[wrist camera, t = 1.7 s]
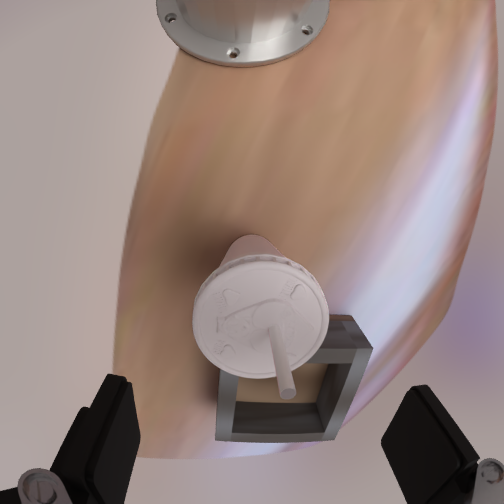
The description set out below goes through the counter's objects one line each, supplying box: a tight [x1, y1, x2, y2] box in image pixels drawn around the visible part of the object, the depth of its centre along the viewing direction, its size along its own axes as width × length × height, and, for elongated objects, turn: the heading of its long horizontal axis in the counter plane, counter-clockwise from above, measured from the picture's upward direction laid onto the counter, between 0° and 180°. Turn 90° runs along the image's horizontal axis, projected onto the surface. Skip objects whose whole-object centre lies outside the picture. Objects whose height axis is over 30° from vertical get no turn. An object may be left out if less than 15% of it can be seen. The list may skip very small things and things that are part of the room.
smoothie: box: [192, 235, 329, 399], centre depth 16 cm, size 6×6×14 cm
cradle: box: [215, 315, 373, 443], centre depth 23 cm, size 11×11×5 cm
